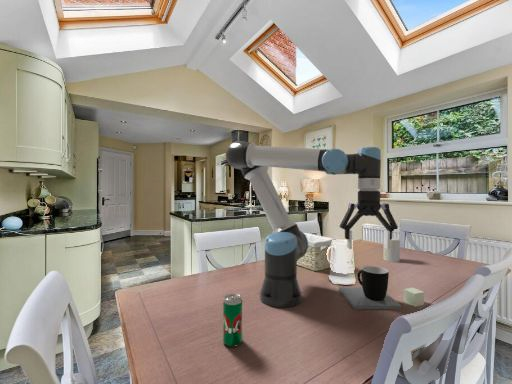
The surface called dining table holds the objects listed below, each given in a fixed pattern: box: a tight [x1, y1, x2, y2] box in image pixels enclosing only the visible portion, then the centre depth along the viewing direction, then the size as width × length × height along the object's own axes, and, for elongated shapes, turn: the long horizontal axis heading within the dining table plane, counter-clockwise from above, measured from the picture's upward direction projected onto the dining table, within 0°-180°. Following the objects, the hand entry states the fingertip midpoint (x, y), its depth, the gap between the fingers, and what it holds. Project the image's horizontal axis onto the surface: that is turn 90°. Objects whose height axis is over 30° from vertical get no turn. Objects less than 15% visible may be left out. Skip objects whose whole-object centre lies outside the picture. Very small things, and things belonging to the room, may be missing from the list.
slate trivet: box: [338, 286, 403, 310], centre depth 95 cm, size 16×16×1 cm
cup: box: [382, 237, 401, 263], centre depth 145 cm, size 8×8×12 cm
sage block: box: [402, 287, 425, 307], centre depth 91 cm, size 4×4×4 cm
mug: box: [357, 265, 390, 301], centre depth 94 cm, size 12×9×10 cm
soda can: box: [222, 293, 243, 347], centre depth 68 cm, size 5×5×12 cm
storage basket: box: [297, 232, 337, 272], centre depth 137 cm, size 24×16×15 cm
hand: (368, 248), depth 94 cm, fingers open, 13 cm apart
